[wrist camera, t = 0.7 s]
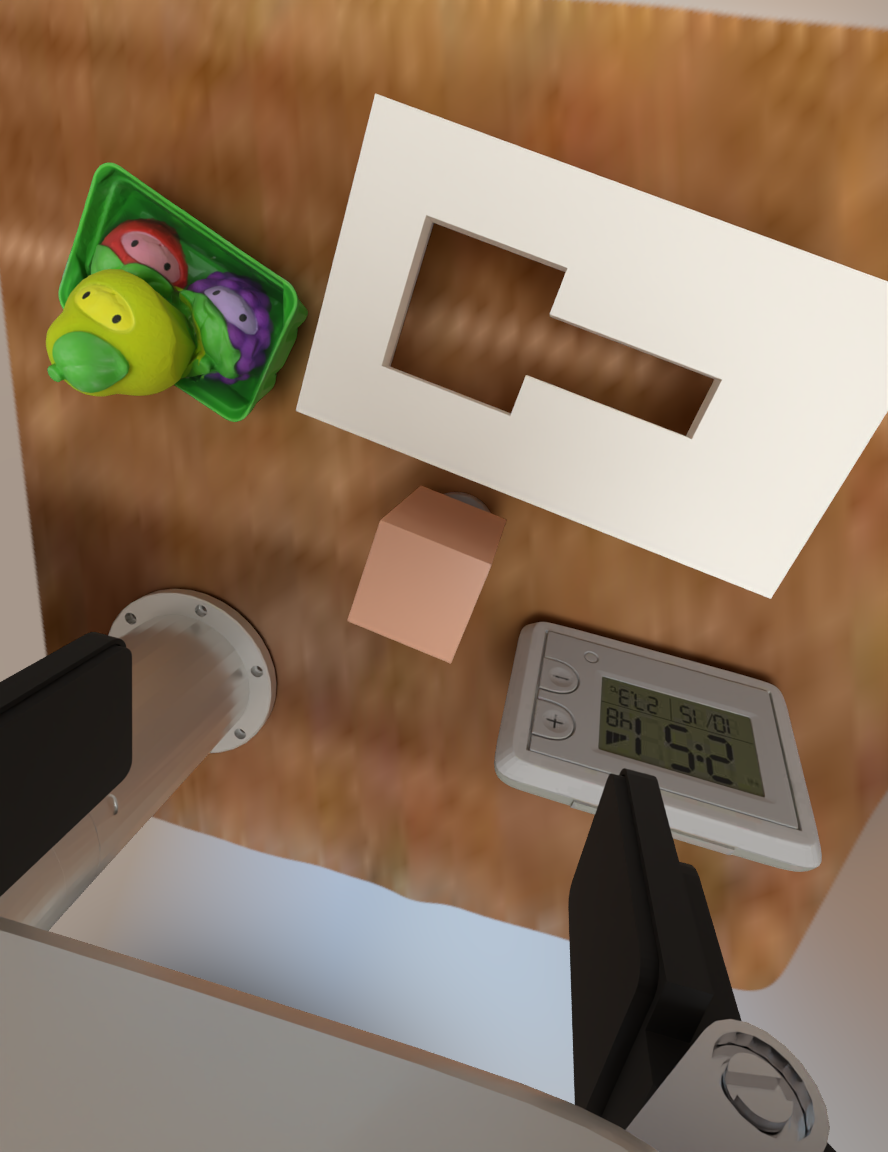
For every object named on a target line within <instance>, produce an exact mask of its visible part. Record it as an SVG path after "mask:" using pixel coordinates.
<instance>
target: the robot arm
mask: <svg viewBox="0 0 888 1152" xmlns="http://www.w3.org/2000/svg"><path fill="white" fill-rule="evenodd" d="M275 699H276V676H275V669H274V666H273V663H272V660H271V657H270V654H269V652H268V650H267V648H266V646H265V644H264V642H263V641H262V639H261V637H260V636H259V635H258V633H257V632H256V631H255V629H254V628H253V627H252V626H251V624H250V623H249V622H248V621H247V620H246V619H244V618H243V617H242V616H241V615H240V614H239V613H238V612H237V611H235V610H234V609H233V608H231V607H230V606H228V605H227V604H225V603H224V602H222V601H220V600H218V599H216V598H213V597H211V596H209V595H207V594H204V593H200V592H196V591H193V590H186V589H166V590H159V591H156V592H153V593H150V594H147V595H145V596H143V597H141V598H140V599H138V600H136V601H134V602H132V603H131V604H129V605H128V606H127V607H126V608H124V609H123V610H122V611H121V612H120V614H119V615H118V617H117V618H116V619H115V621H114V622H113V624H112V627H111V629H110V632H109V634H108V635H104V634H100V633H97V632H90V633H88V634H85V635H84V636H82V637H80V638H78V639H77V640H75V641H73V642H71V643H69V644H68V645H66V646H64V647H62V648H60V649H59V650H57V651H55V652H53V653H52V654H50V655H48V656H46V657H44V658H43V659H41V660H39V661H37V662H36V663H34V664H32V665H30V666H28V667H26V668H25V669H23V670H21V671H19V672H18V673H16V674H14V675H12V676H10V677H9V678H7V679H5V680H3V681H2V682H0V1152H836V1151H835V1150H834V1149H833V1148H832V1147H831V1146H830V1145H829V1144H828V1143H827V1140H828V1135H829V1129H830V1126H829V1120H828V1115H827V1109H826V1105H825V1103H824V1101H823V1099H822V1097H821V1094H820V1092H819V1090H818V1087H817V1085H816V1084H815V1082H814V1081H813V1079H812V1078H811V1076H810V1075H809V1073H808V1072H807V1070H806V1069H805V1068H804V1066H803V1065H802V1063H800V1061H799V1060H798V1059H797V1058H796V1057H795V1056H794V1055H793V1054H792V1053H791V1052H790V1051H789V1050H788V1049H787V1048H786V1046H784V1045H783V1044H782V1043H780V1042H779V1041H778V1040H776V1039H775V1038H774V1037H772V1036H771V1035H770V1034H768V1033H767V1032H766V1031H764V1030H761V1029H759V1028H758V1027H755V1026H753V1025H751V1024H749V1023H747V1022H742V1021H741V1018H740V1014H739V1012H738V1008H737V1004H736V1001H735V998H734V994H733V991H732V987H731V984H730V980H729V977H728V974H727V970H726V967H725V963H724V960H723V957H722V953H721V950H720V946H719V943H718V940H717V936H716V933H715V929H714V926H713V923H712V919H711V916H710V912H709V909H708V906H707V902H706V899H705V895H704V892H703V889H702V885H701V882H700V878H699V876H698V873H697V871H696V869H695V868H694V867H693V866H692V865H690V864H686V863H682V862H679V860H678V856H677V852H676V849H675V845H674V841H673V837H672V833H671V830H670V826H669V822H668V818H667V814H666V810H665V807H664V803H663V799H662V795H661V791H660V787H659V784H658V780H657V778H656V777H655V776H653V775H649V774H645V773H642V772H638V771H634V770H630V769H626V768H624V769H622V770H621V772H620V774H619V775H616V774H612V773H611V774H609V776H608V778H607V781H606V784H605V787H604V790H603V793H602V796H601V798H600V801H599V804H598V807H597V810H596V813H595V816H594V819H593V822H592V825H591V828H590V831H589V834H588V837H587V840H586V843H585V845H584V848H583V851H582V854H581V857H580V860H579V863H578V866H577V869H576V872H575V875H574V878H573V881H572V884H571V888H570V894H569V937H570V966H571V996H572V997H571V998H572V1029H573V1059H574V1089H575V1105H574V1104H572V1103H569V1102H567V1101H564V1100H562V1099H559V1098H557V1097H554V1096H552V1095H549V1094H547V1093H544V1092H542V1091H539V1090H537V1089H534V1088H531V1087H529V1086H527V1085H524V1084H522V1083H519V1082H516V1081H512V1080H510V1079H507V1078H504V1077H501V1076H498V1075H495V1074H492V1073H489V1072H486V1071H484V1070H480V1069H478V1068H474V1067H472V1066H469V1065H466V1064H463V1063H460V1062H457V1061H454V1060H451V1059H448V1058H445V1057H443V1056H440V1055H437V1054H434V1053H430V1052H427V1051H425V1050H422V1049H419V1048H416V1047H413V1046H410V1045H406V1044H403V1043H401V1042H397V1041H394V1040H391V1039H388V1038H385V1037H382V1036H379V1035H375V1034H373V1033H369V1032H366V1031H363V1030H360V1029H356V1028H354V1027H351V1026H348V1025H344V1024H341V1023H338V1022H335V1021H332V1020H329V1019H326V1018H322V1017H319V1016H316V1015H313V1014H310V1013H307V1012H304V1011H301V1010H297V1009H294V1008H291V1007H288V1006H285V1005H282V1004H279V1003H276V1002H273V1001H270V1000H266V999H263V998H260V997H257V996H254V995H251V994H247V993H244V992H241V991H238V990H235V989H232V988H229V987H225V986H222V985H219V984H216V983H213V982H209V981H206V980H203V979H200V978H196V977H193V976H190V975H187V974H184V973H181V972H178V971H175V970H171V969H168V968H165V967H162V966H159V965H155V964H152V963H149V962H146V961H143V960H139V959H136V958H133V957H129V956H126V955H123V954H120V953H117V952H114V951H110V950H107V949H104V948H101V947H97V946H94V945H91V944H88V943H85V942H82V941H78V940H75V939H72V938H69V937H66V936H62V935H59V934H56V933H53V932H49V930H50V929H51V927H52V926H53V925H54V924H55V923H56V922H57V921H58V919H59V918H60V917H61V916H62V915H63V914H64V913H65V912H66V911H67V909H68V908H69V907H70V906H71V905H72V904H73V903H74V902H75V901H76V899H77V898H78V897H79V896H80V895H81V894H82V893H83V892H84V890H85V889H86V888H87V887H88V886H89V885H90V884H91V883H92V882H93V881H94V879H95V878H96V877H97V876H98V875H99V874H100V873H101V872H102V871H103V870H104V869H105V867H106V866H107V865H108V864H109V863H110V862H111V861H112V860H113V859H114V858H115V856H116V855H117V854H118V853H119V852H120V851H121V850H122V849H123V848H124V846H125V845H126V844H127V843H128V842H129V841H130V840H131V839H132V838H133V836H134V835H135V834H136V833H137V832H138V831H139V830H140V829H141V827H143V826H144V824H145V823H146V822H147V821H148V820H149V819H150V818H151V817H152V816H153V815H154V813H155V812H156V811H157V810H158V809H159V808H160V807H161V806H162V805H163V804H164V802H165V801H166V800H167V799H168V798H169V797H170V796H171V795H172V794H173V792H174V791H175V790H176V789H177V788H178V787H179V786H180V785H181V784H182V783H183V781H184V780H185V779H186V778H187V777H188V776H189V775H190V774H191V773H192V772H193V770H194V769H195V768H196V767H197V766H198V765H199V764H200V763H201V762H202V761H203V759H204V758H205V757H206V756H207V755H208V754H209V753H220V752H224V751H228V750H232V749H235V748H237V747H239V746H241V745H243V744H245V743H246V742H247V741H249V740H250V739H251V738H252V737H253V736H255V735H256V734H257V732H258V731H259V730H260V729H261V728H262V726H263V725H264V724H265V723H266V721H267V719H268V717H269V716H270V714H271V712H272V709H273V706H274V702H275Z"/></svg>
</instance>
